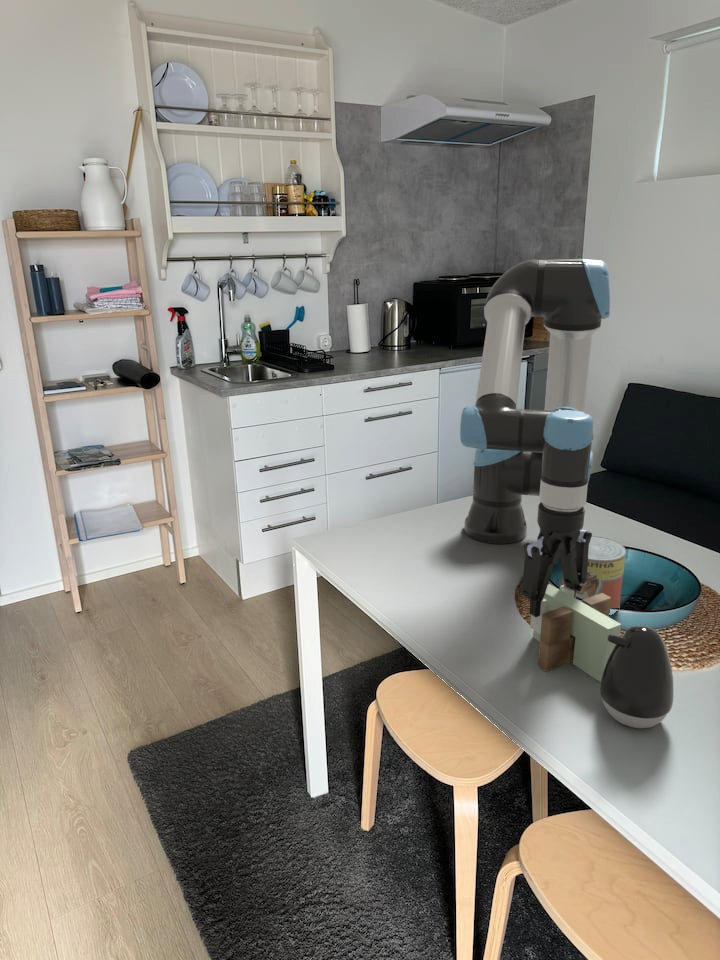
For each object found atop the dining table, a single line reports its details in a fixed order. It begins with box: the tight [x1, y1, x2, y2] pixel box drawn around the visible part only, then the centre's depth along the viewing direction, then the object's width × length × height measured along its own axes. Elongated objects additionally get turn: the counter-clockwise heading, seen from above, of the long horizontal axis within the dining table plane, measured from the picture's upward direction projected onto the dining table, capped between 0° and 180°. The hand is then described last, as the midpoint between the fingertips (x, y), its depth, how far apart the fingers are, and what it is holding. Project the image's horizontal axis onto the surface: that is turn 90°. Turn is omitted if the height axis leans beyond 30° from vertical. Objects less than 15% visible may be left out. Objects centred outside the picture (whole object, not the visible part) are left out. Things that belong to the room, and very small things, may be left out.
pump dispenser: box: [599, 625, 675, 729], centre depth 102 cm, size 10×10×15 cm
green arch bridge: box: [532, 583, 622, 683], centre depth 118 cm, size 3×16×10 cm, turn 30°
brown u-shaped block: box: [537, 593, 611, 673], centre depth 118 cm, size 14×2×10 cm, turn 120°
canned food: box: [561, 535, 627, 609], centre depth 135 cm, size 11×11×12 cm
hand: (550, 625), depth 123 cm, fingers open, 6 cm apart
